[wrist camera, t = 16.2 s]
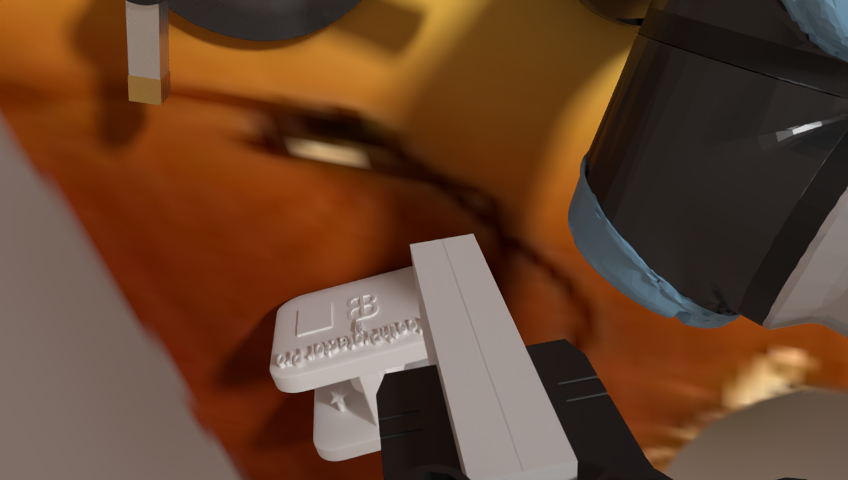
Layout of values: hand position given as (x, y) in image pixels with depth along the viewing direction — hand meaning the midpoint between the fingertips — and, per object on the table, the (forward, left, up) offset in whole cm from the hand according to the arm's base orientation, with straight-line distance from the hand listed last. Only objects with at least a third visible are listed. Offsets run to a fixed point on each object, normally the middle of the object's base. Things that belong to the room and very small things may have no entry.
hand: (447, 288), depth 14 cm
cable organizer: (+16, +20, -34) cm, 43 cm away
